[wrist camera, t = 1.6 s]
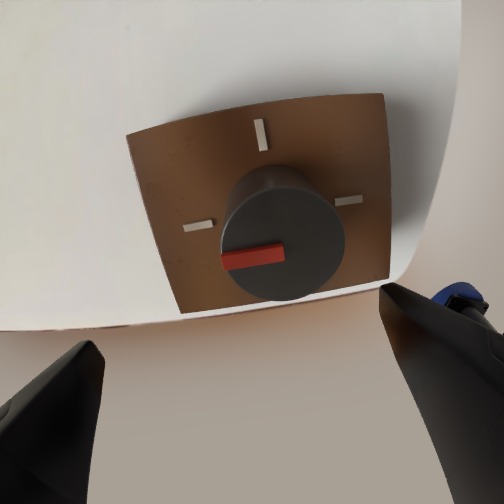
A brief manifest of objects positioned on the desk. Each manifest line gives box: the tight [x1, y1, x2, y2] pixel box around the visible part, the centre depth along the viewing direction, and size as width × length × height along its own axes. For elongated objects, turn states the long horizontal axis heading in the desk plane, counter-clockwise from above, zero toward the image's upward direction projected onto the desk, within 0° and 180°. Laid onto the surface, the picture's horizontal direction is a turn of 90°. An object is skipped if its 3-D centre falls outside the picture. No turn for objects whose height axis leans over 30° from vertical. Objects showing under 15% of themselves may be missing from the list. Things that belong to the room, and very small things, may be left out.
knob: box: [220, 165, 345, 301], centre depth 12 cm, size 4×4×4 cm
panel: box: [126, 93, 391, 314], centre depth 16 cm, size 12×10×5 cm
